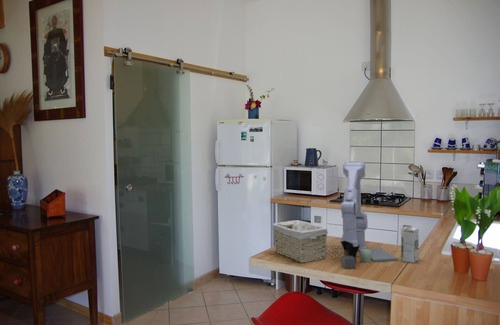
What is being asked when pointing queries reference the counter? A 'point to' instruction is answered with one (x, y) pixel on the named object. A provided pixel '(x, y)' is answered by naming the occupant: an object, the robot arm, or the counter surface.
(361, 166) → the robot arm
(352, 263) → the charcoal cube
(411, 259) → the syrup box
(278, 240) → the storage basket
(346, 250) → the walnut block
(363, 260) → the sage cylinder
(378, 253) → the slate mat
